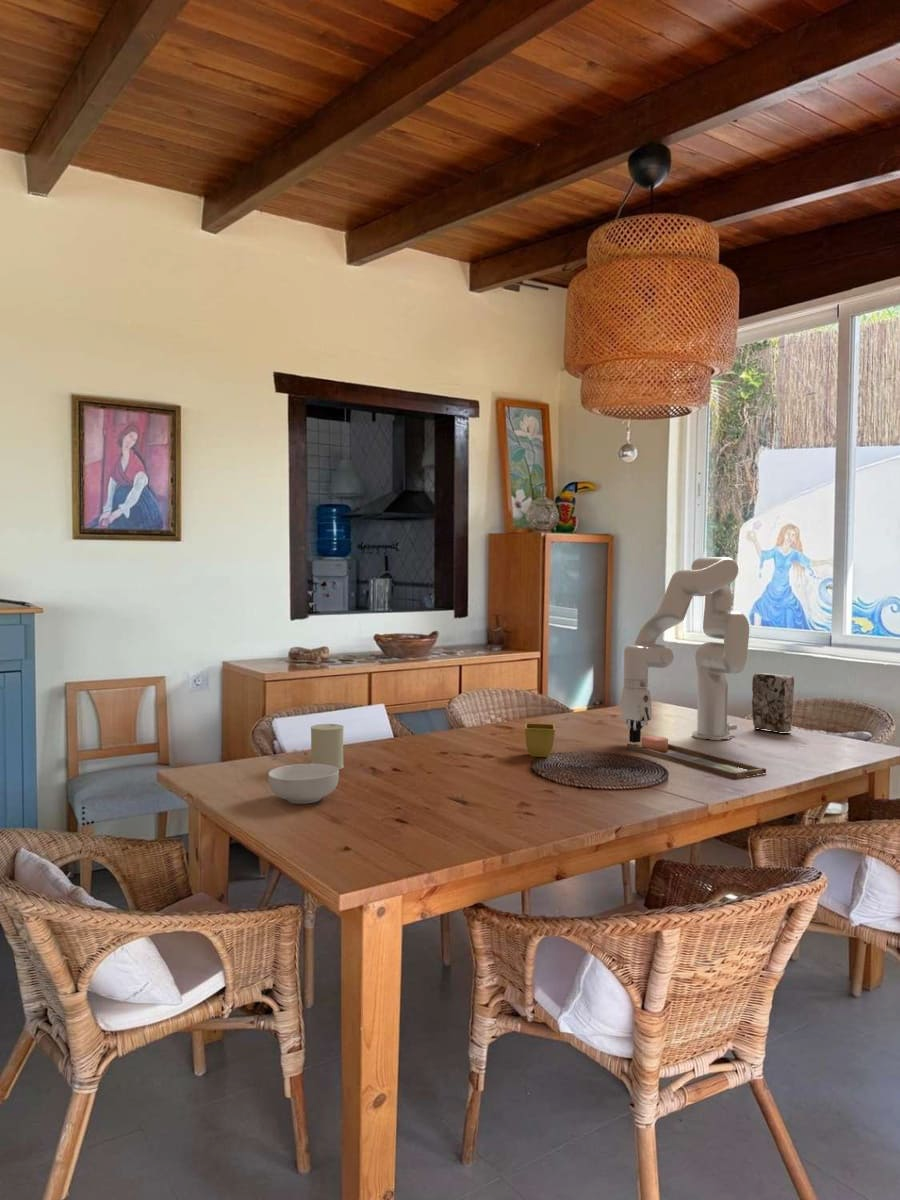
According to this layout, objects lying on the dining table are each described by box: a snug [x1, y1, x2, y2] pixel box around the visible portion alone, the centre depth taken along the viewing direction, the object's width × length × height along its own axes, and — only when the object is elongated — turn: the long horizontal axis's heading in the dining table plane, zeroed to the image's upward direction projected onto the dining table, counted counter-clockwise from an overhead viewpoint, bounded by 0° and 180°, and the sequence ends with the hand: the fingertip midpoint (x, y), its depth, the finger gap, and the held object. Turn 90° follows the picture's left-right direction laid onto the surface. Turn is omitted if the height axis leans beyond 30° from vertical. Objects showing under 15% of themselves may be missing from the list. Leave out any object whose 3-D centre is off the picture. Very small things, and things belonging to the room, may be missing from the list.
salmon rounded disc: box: [640, 735, 669, 753], centre depth 273 cm, size 8×8×4 cm
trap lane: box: [626, 743, 767, 780], centre depth 259 cm, size 12×44×2 cm, turn 29°
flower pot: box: [524, 722, 556, 758], centre depth 265 cm, size 9×9×9 cm
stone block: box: [751, 672, 795, 732], centre depth 306 cm, size 13×7×20 cm, turn 42°
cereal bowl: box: [267, 763, 340, 805], centre depth 214 cm, size 17×17×7 cm
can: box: [310, 723, 345, 771], centre depth 247 cm, size 9×9×12 cm
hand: (634, 741), depth 282 cm, fingers closed
